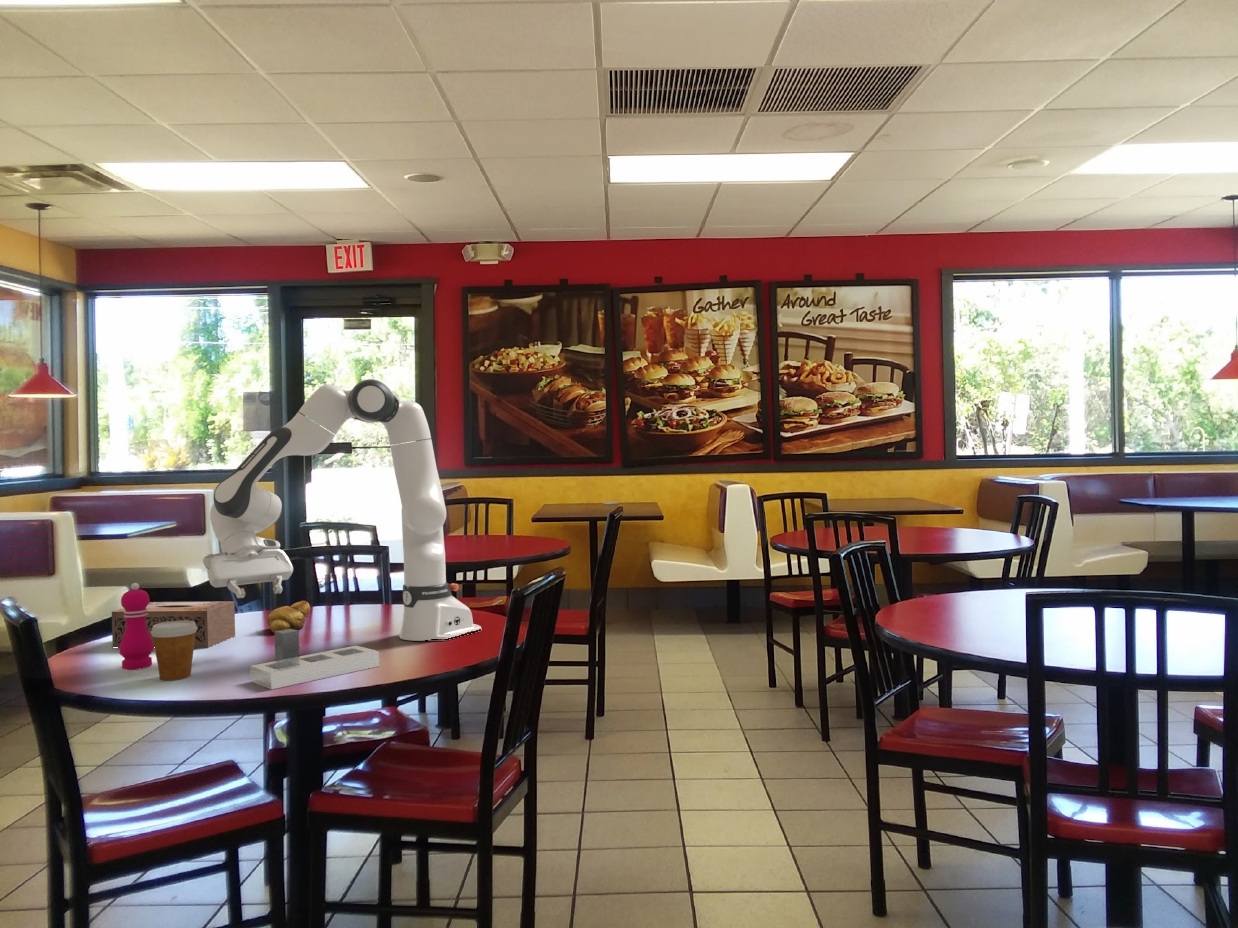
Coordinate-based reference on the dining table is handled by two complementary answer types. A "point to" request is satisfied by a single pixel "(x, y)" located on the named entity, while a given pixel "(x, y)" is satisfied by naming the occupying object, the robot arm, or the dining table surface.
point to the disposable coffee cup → (174, 648)
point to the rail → (313, 667)
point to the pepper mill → (136, 630)
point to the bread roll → (289, 616)
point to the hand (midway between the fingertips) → (260, 594)
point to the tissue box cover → (208, 616)
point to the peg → (286, 644)
